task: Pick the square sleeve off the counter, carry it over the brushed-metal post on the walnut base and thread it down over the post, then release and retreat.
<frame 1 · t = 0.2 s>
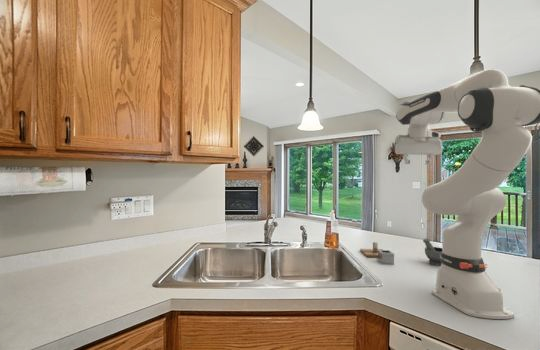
hand: (417, 164, 123), 47 cm above the counter, tool pointing down, fingers open, 8 cm apart
mortar and pestle: (435, 264, 125), on the counter
post block: (375, 254, 139), on the counter
square sleeve: (385, 262, 127), on the counter
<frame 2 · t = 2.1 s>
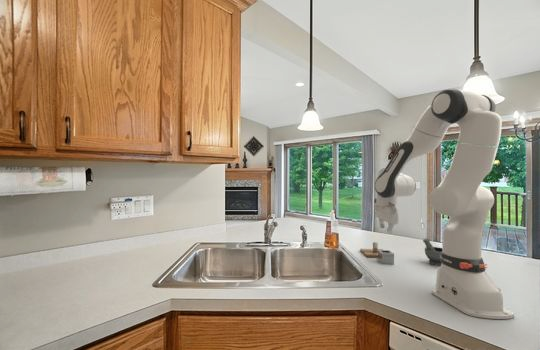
hand: (385, 230, 127), 15 cm above the counter, tool pointing down, fingers open, 8 cm apart
nothing on the counter moved.
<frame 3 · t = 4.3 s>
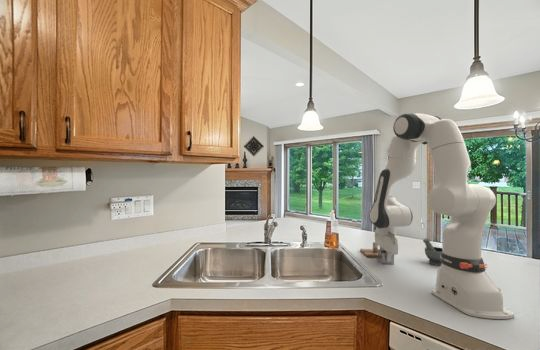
hand: (385, 258, 127), 2 cm above the counter, tool pointing down, fingers closed on square sleeve, 6 cm apart
square sleeve: (385, 262, 127), on the counter, touching gripper
everything else where it was.
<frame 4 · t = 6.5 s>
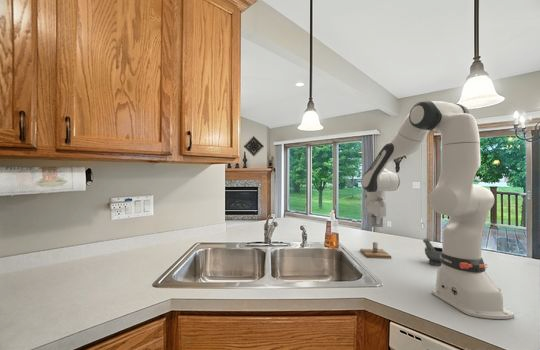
hand: (375, 222, 139), 17 cm above the counter, tool pointing down, fingers closed on square sleeve, 6 cm apart
square sleeve: (375, 225, 139), point 15 cm above the counter, touching gripper
everything else where it was.
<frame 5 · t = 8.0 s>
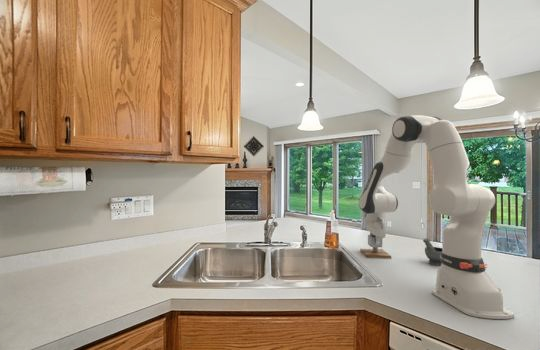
hand: (375, 242, 139), 6 cm above the counter, tool pointing down, fingers closed on square sleeve, 6 cm apart
square sleeve: (374, 245, 139), point 5 cm above the counter, touching gripper
everything else where it was.
when the fingers open (5 cm above the counter, at t = 9.1 s): square sleeve drops 2 cm, resting on post block.
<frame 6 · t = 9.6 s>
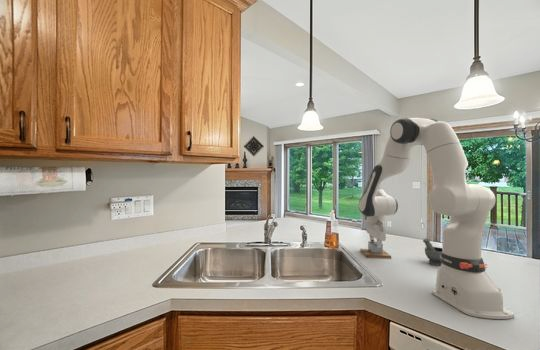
hand: (375, 245, 139), 5 cm above the counter, tool pointing down, fingers open, 8 cm apart
square sleeve: (375, 252, 139), point 1 cm above the counter, touching post block
everything else where it was.
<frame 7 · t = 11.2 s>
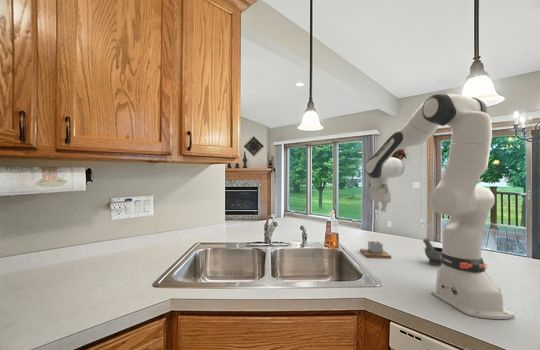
hand: (380, 210, 137), 23 cm above the counter, tool pointing down, fingers open, 8 cm apart
nothing on the counter moved.
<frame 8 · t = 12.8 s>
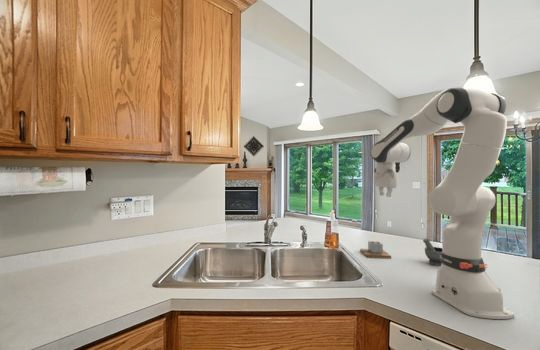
hand: (385, 196, 136), 31 cm above the counter, tool pointing down, fingers open, 8 cm apart
nothing on the counter moved.
at the end: square sleeve 0.1 cm off-centre on the post block, point 1.2 cm above the post block's base; square sleeve tilted 0°; the gripper is holding nothing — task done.
